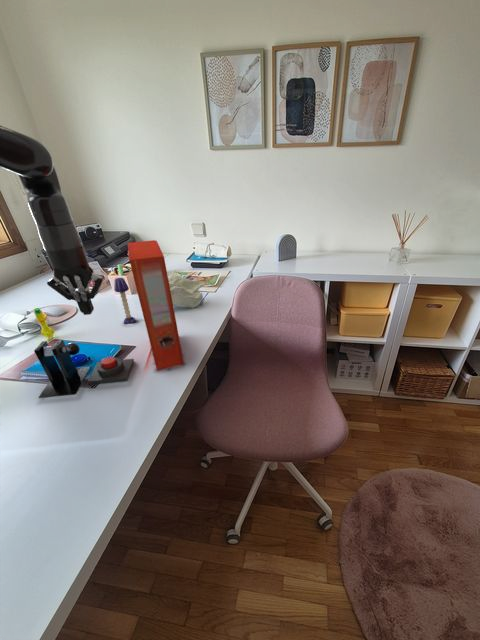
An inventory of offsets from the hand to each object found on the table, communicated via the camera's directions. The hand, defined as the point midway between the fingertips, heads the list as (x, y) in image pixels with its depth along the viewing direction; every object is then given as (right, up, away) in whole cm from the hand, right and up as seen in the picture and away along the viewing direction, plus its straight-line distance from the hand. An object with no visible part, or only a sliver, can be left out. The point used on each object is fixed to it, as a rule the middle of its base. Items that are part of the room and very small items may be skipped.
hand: (88, 313), depth 77 cm
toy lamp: (-4, +1, +35) cm, 35 cm away
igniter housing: (+3, -17, +8) cm, 19 cm away
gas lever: (-9, -11, +4) cm, 15 cm away
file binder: (+15, -10, +17) cm, 25 cm away
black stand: (-9, -19, +5) cm, 21 cm away
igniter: (+3, -14, +6) cm, 15 cm away
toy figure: (-27, -6, +25) cm, 37 cm away
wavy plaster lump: (+12, +8, +46) cm, 48 cm away
